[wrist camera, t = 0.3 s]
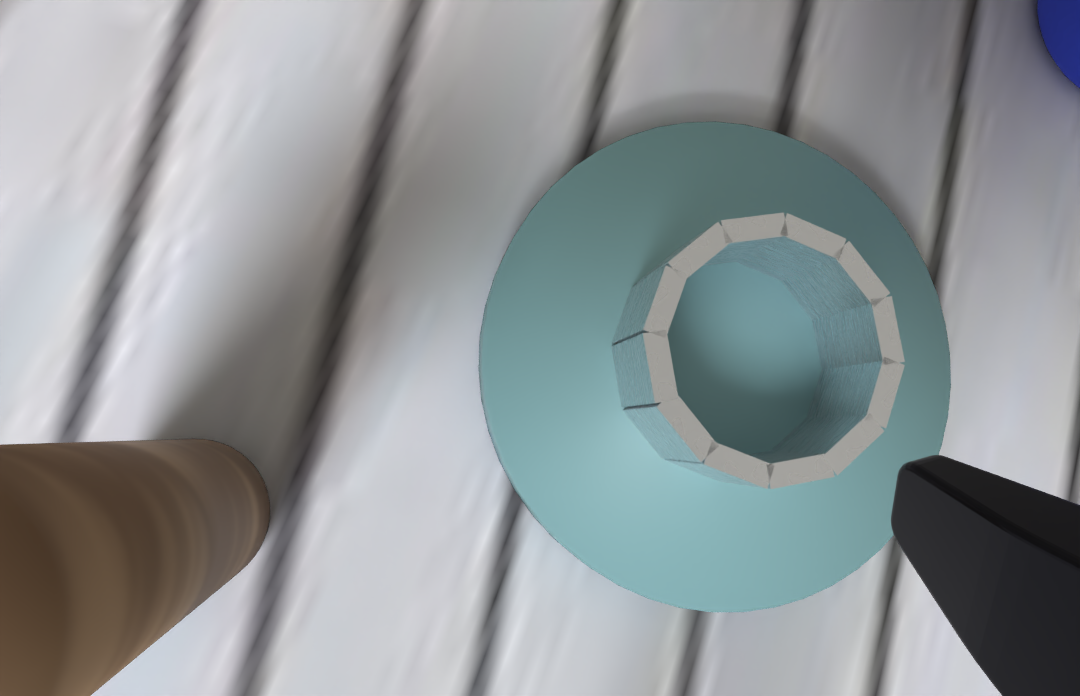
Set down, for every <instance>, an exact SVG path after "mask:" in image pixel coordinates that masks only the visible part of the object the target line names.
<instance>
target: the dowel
mask: <svg viewBox="0 0 1080 696" xmlns="http://www.w3.org/2000/svg"><path fill="white" fill-rule="evenodd" d="M269 518H270V502H269V496H268V492H267V489H266V486H265V483H264V481H263V479H262V477H261V475H260V473H259V472H258V470H257V469H256V468H255V466H254V465H253V464H252V463H251V462H250V461H249V460H248V459H247V458H246V457H245V456H244V455H242V454H241V453H240V452H238V451H237V450H235V449H233V448H232V447H229V446H227V445H225V444H222V443H219V442H215V441H211V440H205V439H175V440H141V441H108V442H75V443H42V444H9V445H0V696H90V695H92V694H93V693H94V692H95V691H96V690H98V689H99V688H100V687H101V686H102V685H104V684H105V683H106V682H107V681H109V680H110V679H111V678H112V677H113V676H115V675H116V674H117V673H118V672H119V671H121V670H122V669H123V668H124V667H125V666H127V665H128V664H129V663H130V662H131V661H133V660H134V659H135V658H136V657H138V656H139V655H140V654H141V653H142V652H144V651H145V650H146V649H147V648H148V647H150V646H151V645H152V644H153V643H154V642H156V641H157V640H158V639H159V638H160V637H162V636H163V635H164V634H165V633H166V632H168V631H169V630H170V629H171V628H173V627H174V626H175V625H176V624H177V623H179V622H180V621H181V620H182V619H183V618H185V617H186V616H187V615H188V614H189V613H191V612H192V611H193V610H194V609H195V608H197V607H198V606H199V605H200V604H201V603H203V602H204V601H205V600H206V599H208V598H209V597H210V596H211V595H212V594H214V593H215V592H216V591H217V590H218V589H220V588H221V587H222V586H223V585H224V584H226V583H227V582H228V581H229V580H230V579H232V578H233V577H234V576H235V575H237V574H238V573H239V572H240V571H241V570H242V569H243V568H244V567H246V566H247V565H248V563H249V562H250V561H251V560H252V559H253V558H254V556H255V555H256V553H257V552H258V550H259V549H260V547H261V545H262V543H263V541H264V538H265V535H266V533H267V529H268V524H269Z"/></svg>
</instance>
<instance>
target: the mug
mask: <svg viewBox="0 0 1080 696" xmlns="http://www.w3.org/2000/svg"><path fill="white" fill-rule="evenodd" d="M1038 19H1039V25H1040V29H1041V33H1042V37H1043V39H1044V42H1045V45H1046V47H1047V49H1048V51H1049V53H1050V55H1051V57H1052V58H1053V60H1054V62H1055V63H1056V64H1057V66H1058V67H1059V68H1060V70H1061V71H1062V72H1063V73H1064V75H1065V76H1066V77H1067V78H1068V79H1069V80H1071V81H1072V82H1073V83H1074V84H1075V85H1076V86H1077V87H1079V88H1080V0H1038Z"/></svg>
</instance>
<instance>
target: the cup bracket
mask: <svg viewBox="0 0 1080 696" xmlns="http://www.w3.org/2000/svg"><path fill="white" fill-rule="evenodd" d="M479 379H480V390H481V400H482V405H483V409H484V414H485V418H486V423H487V427H488V431H489V434H490V437H491V439H492V442H493V445H494V448H495V450H496V453H497V456H498V459H499V461H500V463H501V465H502V467H503V469H504V471H505V473H506V475H507V476H508V478H509V480H510V482H511V484H512V486H513V488H514V490H515V491H516V493H517V494H518V495H519V497H520V498H521V500H522V501H523V503H524V504H525V505H526V507H527V508H528V510H529V511H530V512H531V514H532V515H533V516H534V518H535V519H536V520H537V521H538V522H539V523H540V524H541V525H542V526H543V527H544V528H545V529H546V531H547V532H548V533H549V534H550V535H551V536H552V537H553V538H554V539H555V540H556V541H557V542H559V543H560V544H561V545H562V546H563V547H565V548H566V549H567V550H568V551H569V552H571V553H572V554H573V555H574V556H575V557H577V558H578V559H579V560H581V561H582V562H583V563H585V564H586V565H587V566H589V567H590V568H591V569H593V570H595V571H596V572H598V573H599V574H601V575H603V576H604V577H606V578H608V579H609V580H611V581H612V582H614V583H616V584H617V585H619V586H621V587H623V588H626V589H628V590H630V591H632V592H635V593H637V594H639V595H641V596H644V597H646V598H648V599H651V600H655V601H658V602H662V603H665V604H669V605H672V606H676V607H679V608H685V609H693V610H700V611H707V612H747V611H754V610H760V609H767V608H774V607H777V606H781V605H784V604H787V603H791V602H794V601H798V600H801V599H804V598H806V597H808V596H811V595H813V594H815V593H817V592H819V591H822V590H824V589H826V588H828V587H830V586H832V585H834V584H835V583H837V582H838V581H840V580H842V579H843V578H845V577H846V576H848V575H849V574H851V573H852V572H854V571H856V570H857V569H858V568H860V567H861V566H862V565H863V564H864V563H865V562H867V561H868V560H869V559H870V558H871V557H872V556H874V555H875V554H876V553H877V552H878V551H879V550H881V548H882V547H883V546H884V545H885V544H886V543H887V542H888V541H889V539H890V538H891V537H892V536H893V535H894V534H893V531H892V527H891V513H892V506H893V500H894V494H895V488H896V481H897V475H898V472H899V470H900V468H901V467H902V465H903V464H905V463H907V462H910V461H914V460H917V459H921V458H924V457H928V456H931V455H938V454H939V451H940V448H941V445H942V441H943V436H944V432H945V427H946V422H947V418H948V410H949V399H950V388H951V377H950V352H949V345H948V338H947V331H946V325H945V321H944V317H943V313H942V310H941V306H940V302H939V298H938V295H937V292H936V290H935V287H934V285H933V282H932V280H931V277H930V275H929V272H928V270H927V267H926V265H925V263H924V261H923V260H922V258H921V256H920V254H919V252H918V250H917V248H916V246H915V245H914V243H913V241H912V239H911V238H910V236H909V235H908V234H907V232H906V231H905V229H904V228H903V226H902V225H901V223H900V222H899V221H898V219H897V218H896V216H895V215H894V214H893V213H892V212H891V210H890V209H889V208H888V207H887V206H886V205H885V204H884V203H883V201H882V200H881V199H880V198H879V197H878V196H877V195H876V194H875V192H873V191H872V190H871V189H870V188H869V187H868V186H867V185H866V184H864V183H863V182H862V181H861V180H860V179H859V178H858V177H857V176H855V175H854V174H853V173H852V172H851V171H849V170H848V169H846V168H845V167H843V166H842V165H840V164H839V163H838V162H836V161H835V160H833V159H832V158H830V157H829V156H827V155H825V154H824V153H822V152H820V151H818V150H816V149H814V148H812V147H810V146H808V145H806V144H805V143H803V142H800V141H798V140H795V139H792V138H790V137H787V136H784V135H782V134H779V133H776V132H774V131H770V130H765V129H761V128H757V127H753V126H748V125H743V124H734V123H724V122H689V123H680V124H674V125H669V126H663V127H657V128H653V129H650V130H647V131H644V132H641V133H637V134H634V135H631V136H628V137H626V138H624V139H621V140H619V141H617V142H615V143H613V144H611V145H609V146H607V147H605V148H602V149H600V150H599V151H597V152H596V153H594V154H593V155H591V156H590V157H588V158H587V159H585V160H584V161H582V162H581V163H579V164H578V165H576V166H575V167H573V168H572V169H571V170H570V171H569V172H568V173H567V174H565V175H564V176H563V177H562V178H561V179H560V180H559V181H557V182H556V183H555V184H554V185H553V186H552V187H551V188H550V189H549V190H548V191H547V193H546V194H545V195H544V196H543V197H542V198H541V200H540V201H539V202H538V203H537V204H536V205H535V206H534V208H533V209H532V210H531V211H530V213H529V215H528V216H527V218H526V219H525V221H524V222H523V224H522V225H521V227H520V228H519V230H518V231H517V233H516V235H515V236H514V238H513V240H512V241H511V243H510V245H509V247H508V249H507V251H506V253H505V255H504V257H503V259H502V262H501V264H500V266H499V268H498V270H497V272H496V274H495V276H494V280H493V283H492V286H491V289H490V292H489V295H488V299H487V302H486V305H485V310H484V315H483V321H482V327H481V333H480V344H479Z"/></svg>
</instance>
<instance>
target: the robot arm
mask: <svg viewBox="0 0 1080 696" xmlns="http://www.w3.org/2000/svg"><path fill="white" fill-rule="evenodd" d="M891 527H892V531H893V534H894V536H895V538H896V540H897V542H898V544H899V545H900V547H901V549H902V550H903V552H904V553H905V555H906V556H907V558H908V559H909V561H910V562H911V564H912V565H913V567H914V568H915V570H916V572H917V573H918V575H919V576H920V578H921V579H922V581H923V582H924V584H925V585H926V587H927V588H928V590H929V592H930V593H931V595H932V596H933V598H934V599H935V601H936V602H937V604H938V605H939V607H940V608H941V610H942V611H943V613H944V615H945V616H946V618H947V619H948V621H949V622H950V624H951V625H952V627H953V628H954V630H955V631H956V633H957V634H958V636H959V638H960V639H961V641H962V642H963V644H964V645H965V646H966V648H967V649H968V651H969V652H970V654H971V655H972V656H973V658H974V659H975V661H976V662H977V663H978V665H979V666H980V667H981V669H982V670H983V671H984V673H985V674H986V675H987V677H988V678H989V679H990V681H991V682H992V683H993V684H994V686H995V687H996V688H997V690H998V691H999V692H1000V693H1001V695H1002V696H1080V505H1078V504H1075V503H1073V502H1070V501H1067V500H1064V499H1062V498H1059V497H1056V496H1053V495H1050V494H1048V493H1045V492H1042V491H1039V490H1037V489H1034V488H1031V487H1028V486H1025V485H1023V484H1020V483H1017V482H1014V481H1012V480H1009V479H1006V478H1003V477H1000V476H998V475H995V474H992V473H989V472H987V471H984V470H981V469H978V468H975V467H973V466H970V465H967V464H964V463H962V462H959V461H956V460H953V459H950V458H948V457H944V456H941V455H931V456H928V457H924V458H921V459H917V460H914V461H910V462H907V463H905V464H903V465H902V467H901V468H900V470H899V472H898V475H897V481H896V488H895V494H894V500H893V506H892V513H891Z"/></svg>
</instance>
